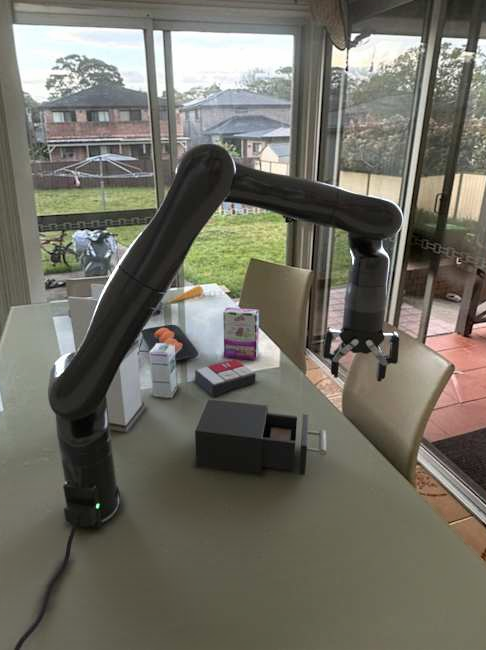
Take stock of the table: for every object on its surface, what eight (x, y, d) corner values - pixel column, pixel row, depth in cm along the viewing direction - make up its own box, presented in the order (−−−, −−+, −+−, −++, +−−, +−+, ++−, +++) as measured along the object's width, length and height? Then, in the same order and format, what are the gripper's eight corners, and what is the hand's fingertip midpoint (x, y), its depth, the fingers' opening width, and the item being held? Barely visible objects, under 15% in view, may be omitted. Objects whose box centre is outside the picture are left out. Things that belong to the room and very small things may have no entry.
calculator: (256, 371, 131) (213, 383, 123) (255, 384, 133) (213, 397, 125) (236, 357, 140) (194, 367, 132) (235, 369, 141) (194, 380, 134)
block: (268, 455, 99) (288, 458, 98) (269, 439, 97) (289, 441, 96) (270, 443, 103) (290, 445, 102) (271, 427, 101) (291, 429, 101)
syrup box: (172, 398, 125) (169, 352, 119) (152, 396, 126) (148, 351, 121) (177, 388, 130) (175, 343, 125) (158, 386, 131) (155, 342, 126)
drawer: (324, 444, 104) (327, 416, 101) (325, 478, 94) (328, 448, 91) (250, 435, 108) (250, 408, 105) (242, 467, 97) (243, 438, 94)
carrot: (200, 294, 210) (197, 285, 210) (205, 293, 206) (202, 284, 206) (165, 308, 199) (162, 298, 198) (170, 307, 195) (167, 297, 195)
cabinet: (267, 438, 108) (268, 405, 104) (260, 475, 96) (261, 438, 93) (208, 432, 110) (208, 399, 107) (196, 466, 99) (194, 430, 95)
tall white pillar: (144, 408, 120) (133, 287, 107) (126, 432, 111) (112, 301, 98) (107, 402, 123) (92, 283, 110) (86, 425, 114) (67, 297, 101)
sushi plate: (201, 360, 146) (200, 350, 145) (109, 377, 136) (108, 367, 134) (176, 328, 171) (176, 319, 170) (97, 340, 161) (96, 331, 160)
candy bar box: (258, 353, 150) (259, 309, 144) (256, 360, 146) (257, 314, 140) (226, 350, 153) (226, 306, 147) (223, 357, 148) (223, 311, 142)
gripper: (327, 309, 82) (321, 384, 88) (407, 313, 80) (396, 390, 86) (326, 295, 89) (321, 366, 95) (400, 299, 87) (390, 371, 92)
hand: (357, 377), depth 90 cm, fingers open, 8 cm apart
